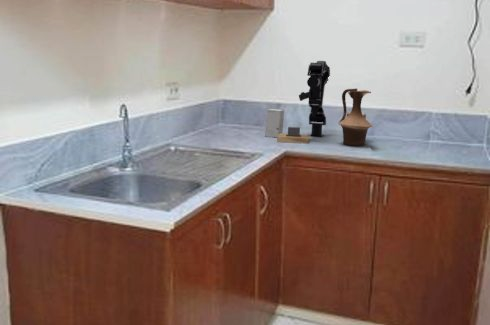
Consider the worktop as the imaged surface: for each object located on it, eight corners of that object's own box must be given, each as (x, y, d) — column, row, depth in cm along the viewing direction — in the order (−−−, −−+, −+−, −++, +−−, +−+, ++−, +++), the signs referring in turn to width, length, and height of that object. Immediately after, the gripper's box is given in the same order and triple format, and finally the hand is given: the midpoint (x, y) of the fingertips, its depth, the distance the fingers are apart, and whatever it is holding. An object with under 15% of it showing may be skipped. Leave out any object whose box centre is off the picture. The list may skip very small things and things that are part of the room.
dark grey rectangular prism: (287, 139, 264) (288, 126, 262) (299, 140, 263) (299, 127, 262) (287, 141, 260) (288, 127, 258) (299, 141, 259) (299, 128, 258)
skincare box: (264, 136, 274) (265, 109, 271) (269, 135, 279) (270, 108, 276) (278, 137, 270) (280, 110, 267) (283, 136, 275) (284, 109, 272)
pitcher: (330, 144, 251) (333, 87, 246) (344, 141, 265) (347, 87, 260) (363, 148, 241) (367, 89, 236) (376, 144, 255) (380, 89, 250)
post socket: (278, 138, 269) (279, 133, 269) (308, 139, 267) (309, 134, 267) (277, 141, 255) (277, 137, 255) (308, 143, 253) (308, 138, 253)
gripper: (300, 85, 271) (299, 114, 275) (299, 87, 253) (297, 118, 256) (321, 86, 270) (319, 115, 273) (321, 88, 252) (319, 119, 255)
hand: (313, 117), depth 264 cm, fingers open, 9 cm apart
